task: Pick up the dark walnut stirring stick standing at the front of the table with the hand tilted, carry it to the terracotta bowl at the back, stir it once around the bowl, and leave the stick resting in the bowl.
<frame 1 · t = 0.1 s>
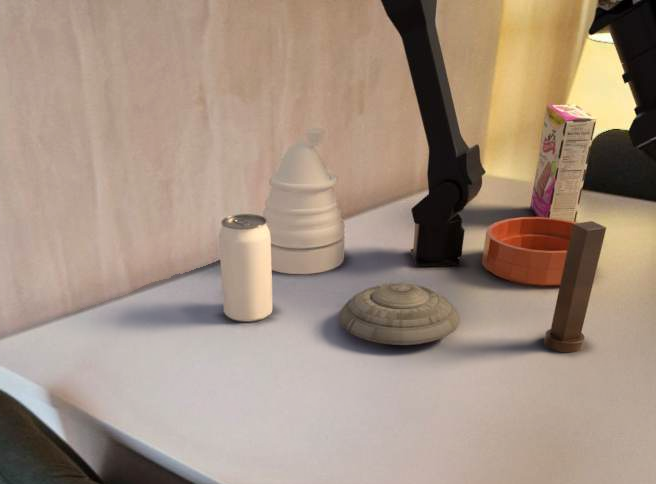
bowl: (536, 268, 111), on the table
flying saucer: (397, 329, 96), on the table
stick: (562, 344, 91), on the table
can: (248, 314, 101), on the table
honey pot: (301, 260, 117), on the table
candy bar box: (550, 219, 129), on the table
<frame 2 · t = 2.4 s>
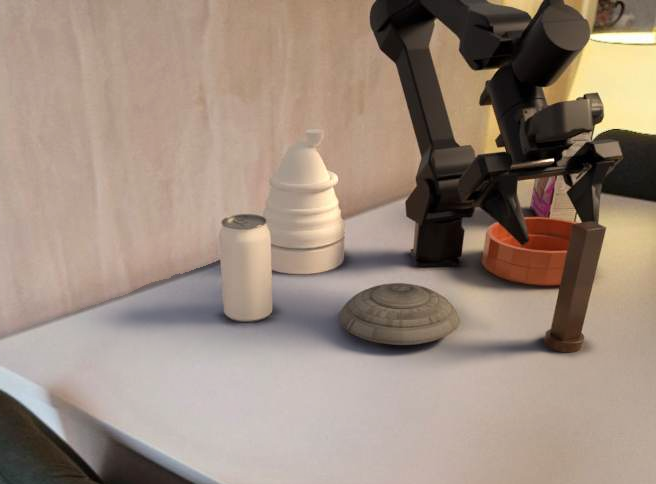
hand: (560, 238, 88), 11 cm above the table, tool tilted 45°, fingers open, 9 cm apart
nothing on the table moved.
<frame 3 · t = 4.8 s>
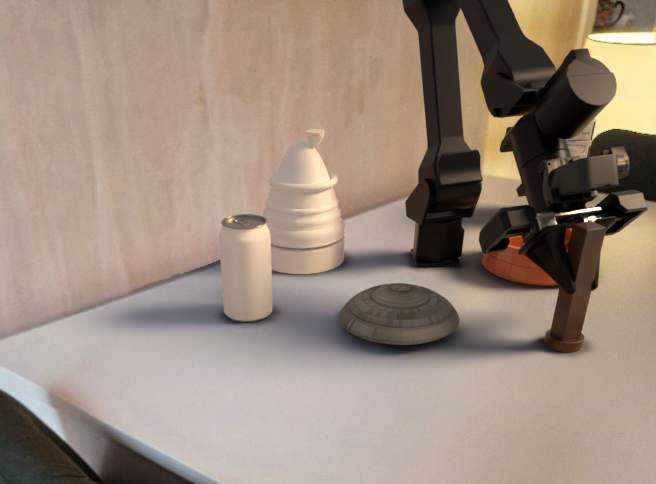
hand: (583, 291, 86), 7 cm above the table, tool tilted 45°, fingers closed on stick, 2 cm apart
stick: (562, 344, 91), on the table, touching gripper
everything else where it was.
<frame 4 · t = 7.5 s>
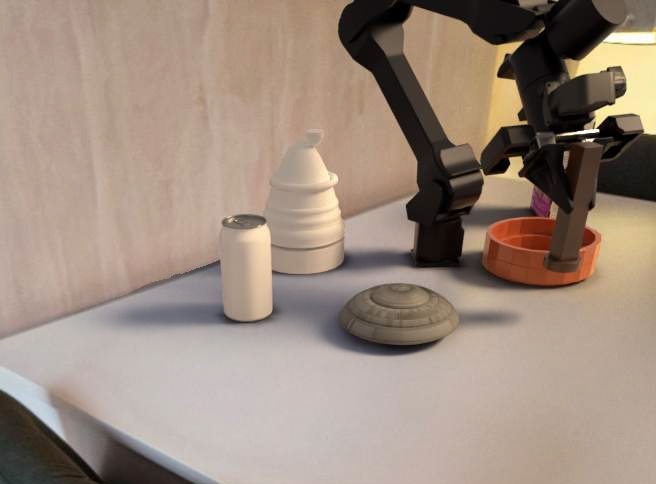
hand: (580, 211, 89), 13 cm above the table, tool tilted 45°, fingers closed on stick, 2 cm apart
stick: (560, 266, 94), point 6 cm above the table, touching gripper
everything else where it was.
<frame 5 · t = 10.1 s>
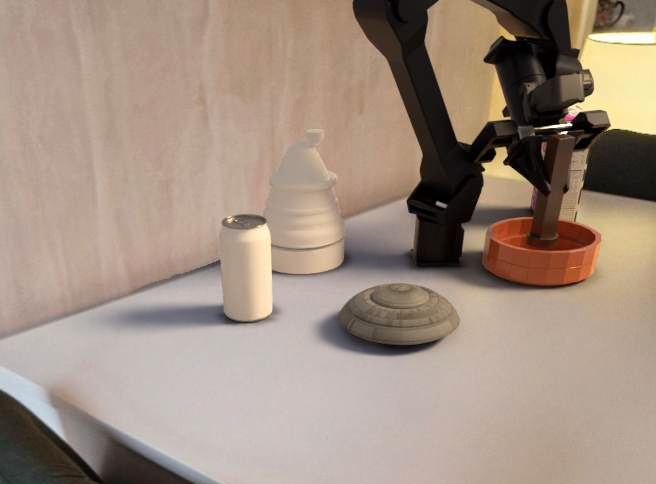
hand: (557, 193, 103), 11 cm above the table, tool tilted 45°, fingers closed on stick, 2 cm apart
stick: (540, 242, 109), point 4 cm above the table, touching gripper
everything else where it was.
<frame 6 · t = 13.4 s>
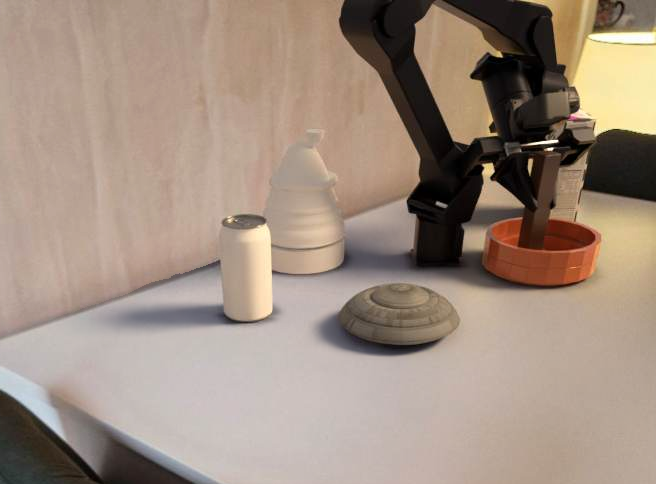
hand: (543, 209, 104), 9 cm above the table, tool tilted 45°, fingers closed on stick, 2 cm apart
stick: (527, 258, 109), point 2 cm above the table, touching gripper
everything else where it was.
when the fingers open (8 cm above the table, at t = 15.5 s): stick stays where it is, resting on bowl.
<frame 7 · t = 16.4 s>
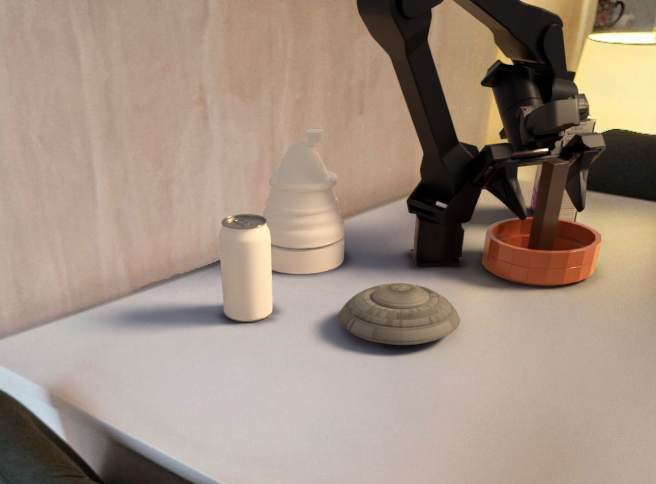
hand: (553, 214, 105), 8 cm above the table, tool tilted 45°, fingers open, 9 cm apart
stick: (536, 264, 111), point 1 cm above the table, touching bowl
everything else where it was.
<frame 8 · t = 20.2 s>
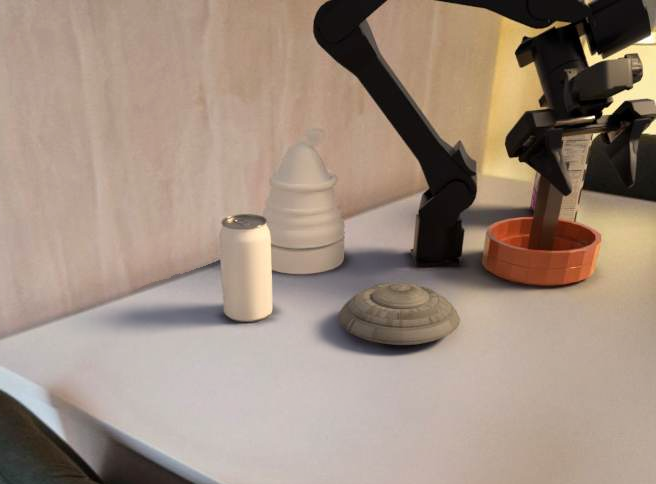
hand: (600, 190, 95), 14 cm above the table, tool tilted 45°, fingers open, 9 cm apart
nothing on the table moved.
at the end: stick inside the target area in the bowl (0.1 cm from its centre), point 0.6 cm above the bowl's base; stick moved 25.3 cm from its start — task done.
